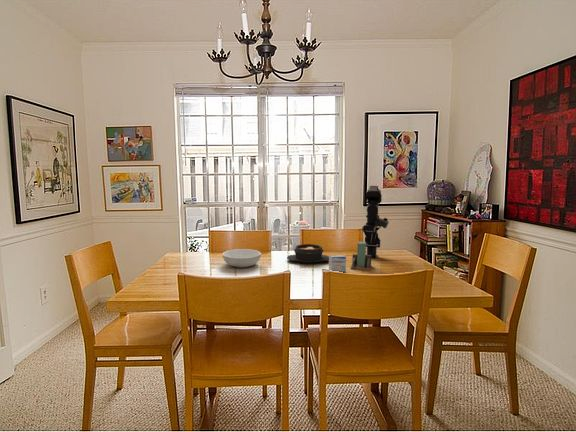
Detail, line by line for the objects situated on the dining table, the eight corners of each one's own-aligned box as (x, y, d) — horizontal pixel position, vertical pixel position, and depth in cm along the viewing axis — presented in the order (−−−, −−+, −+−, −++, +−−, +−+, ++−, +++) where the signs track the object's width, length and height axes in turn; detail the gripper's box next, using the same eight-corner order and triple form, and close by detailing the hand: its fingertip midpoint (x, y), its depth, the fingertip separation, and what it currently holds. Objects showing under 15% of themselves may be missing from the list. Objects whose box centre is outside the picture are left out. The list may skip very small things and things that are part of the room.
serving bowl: (224, 272, 183) (224, 258, 182) (221, 261, 203) (220, 249, 202) (264, 269, 189) (264, 256, 188) (257, 259, 209) (257, 247, 208)
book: (357, 264, 195) (358, 241, 193) (365, 264, 194) (366, 242, 192) (356, 266, 190) (357, 243, 188) (364, 267, 189) (365, 243, 187)
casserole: (286, 265, 196) (286, 250, 195) (287, 256, 215) (287, 243, 214) (331, 265, 196) (332, 250, 195) (328, 257, 214) (329, 243, 213)
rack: (352, 264, 198) (352, 253, 197) (371, 265, 195) (371, 254, 195) (350, 269, 189) (350, 257, 188) (369, 270, 186) (370, 259, 185)
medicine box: (331, 273, 180) (331, 257, 179) (328, 271, 184) (328, 255, 183) (346, 273, 182) (346, 256, 180) (342, 270, 186) (343, 254, 185)
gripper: (384, 216, 181) (382, 246, 184) (391, 212, 198) (390, 239, 200) (362, 215, 186) (361, 244, 188) (371, 211, 203) (370, 238, 205)
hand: (371, 241), depth 195 cm, fingers open, 9 cm apart
